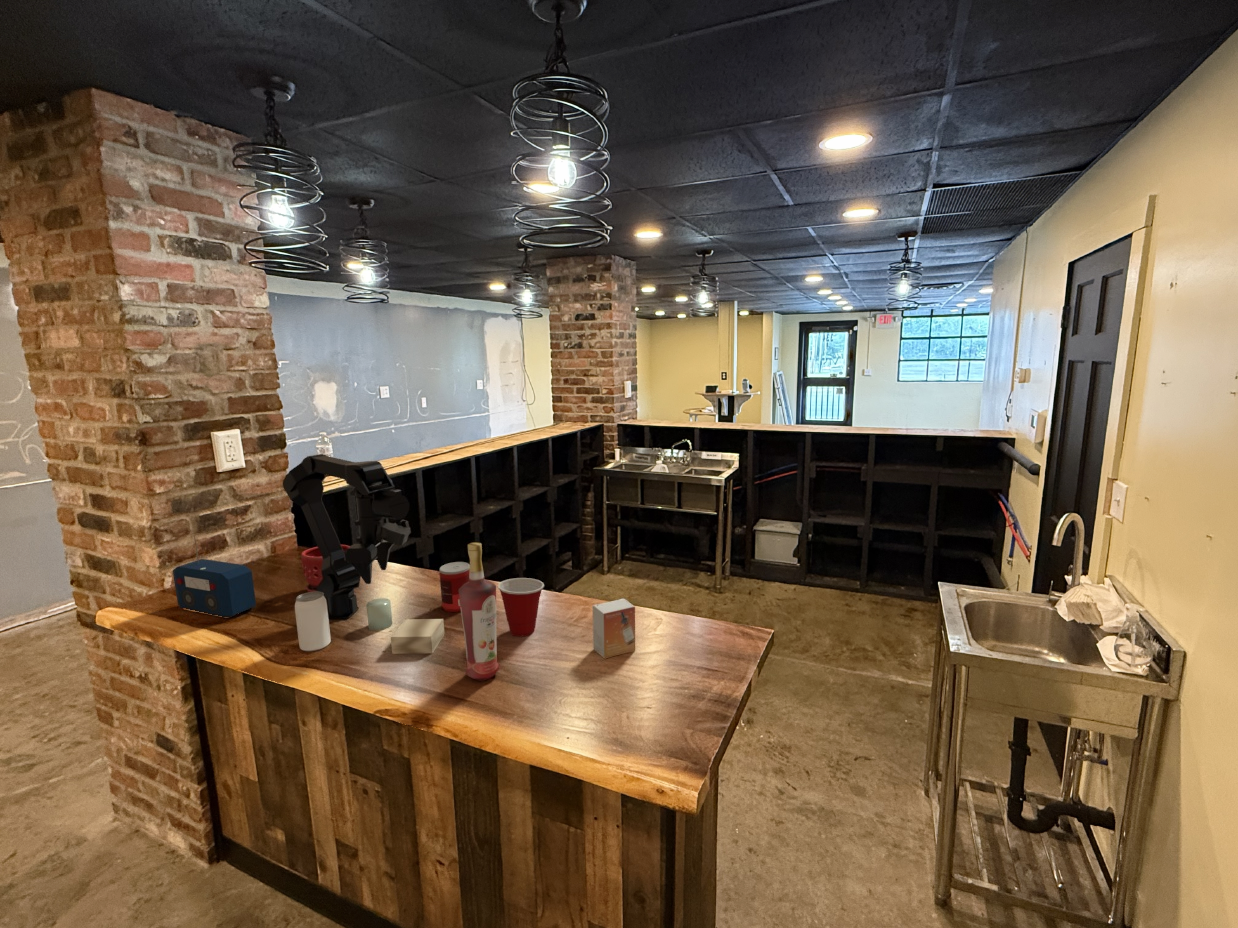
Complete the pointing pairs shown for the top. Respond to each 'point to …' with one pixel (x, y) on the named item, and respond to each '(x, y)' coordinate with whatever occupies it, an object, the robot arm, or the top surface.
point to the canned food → (453, 584)
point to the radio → (214, 587)
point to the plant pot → (313, 567)
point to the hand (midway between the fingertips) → (376, 576)
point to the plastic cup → (521, 604)
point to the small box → (614, 628)
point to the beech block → (417, 636)
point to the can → (312, 621)
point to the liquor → (479, 619)
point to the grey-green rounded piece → (379, 614)
